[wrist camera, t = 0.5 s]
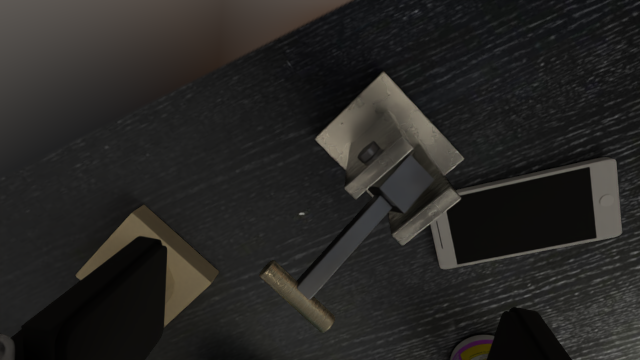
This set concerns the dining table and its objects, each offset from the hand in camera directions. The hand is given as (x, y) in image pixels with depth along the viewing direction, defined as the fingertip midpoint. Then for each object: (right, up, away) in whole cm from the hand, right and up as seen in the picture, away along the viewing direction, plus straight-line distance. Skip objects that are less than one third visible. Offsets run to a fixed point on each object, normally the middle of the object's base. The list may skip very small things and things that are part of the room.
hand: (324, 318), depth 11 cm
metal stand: (+6, +7, +24) cm, 25 cm away
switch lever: (+2, +1, +14) cm, 14 cm away
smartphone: (+18, +1, +24) cm, 30 cm away
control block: (-17, -5, +30) cm, 35 cm away
